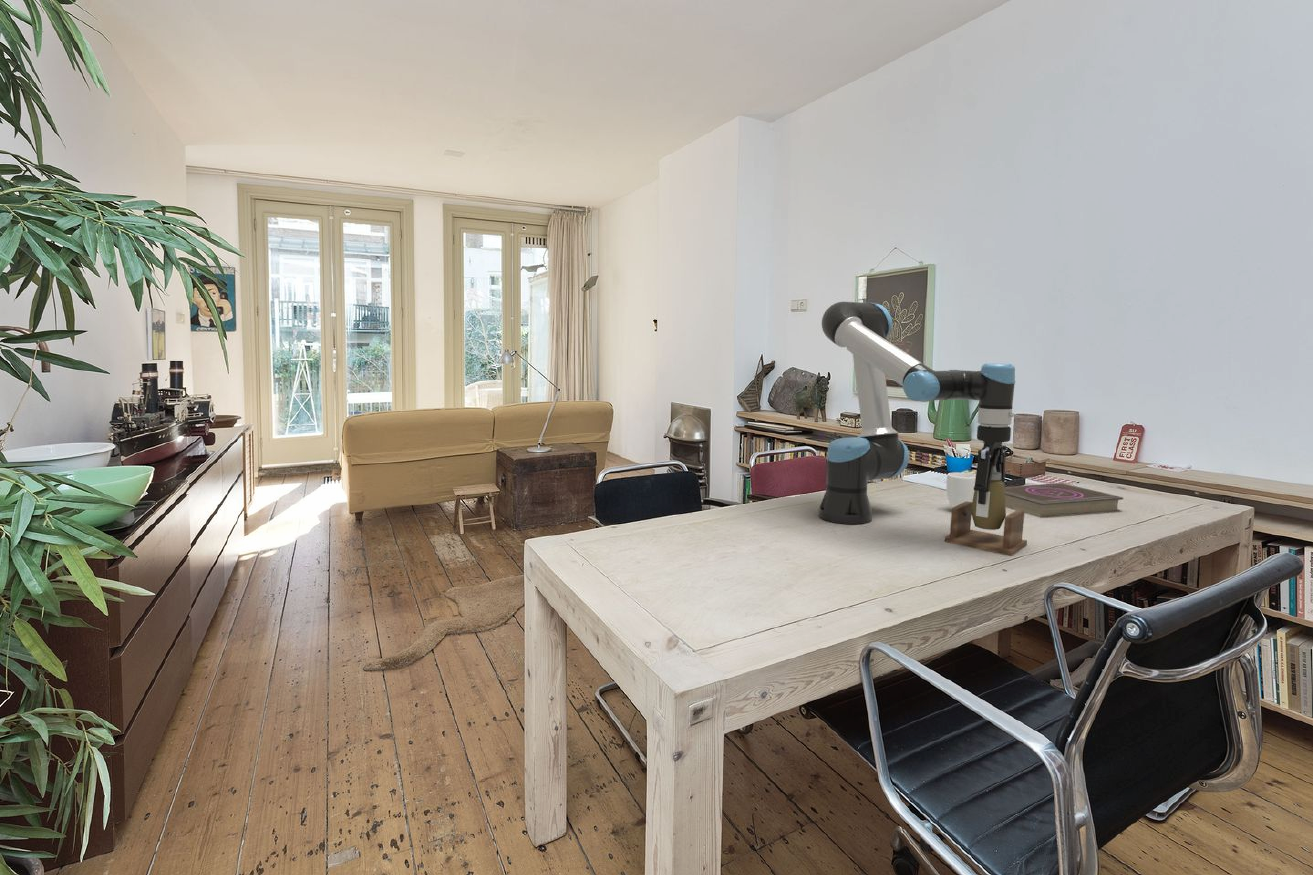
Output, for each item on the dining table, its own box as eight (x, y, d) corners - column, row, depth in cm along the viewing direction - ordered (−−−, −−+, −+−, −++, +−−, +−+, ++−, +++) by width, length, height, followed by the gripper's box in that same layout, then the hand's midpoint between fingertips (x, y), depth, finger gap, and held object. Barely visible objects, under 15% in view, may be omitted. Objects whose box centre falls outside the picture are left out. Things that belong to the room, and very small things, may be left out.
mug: (957, 515, 192) (959, 478, 190) (939, 508, 200) (941, 472, 198) (991, 513, 195) (993, 476, 193) (971, 506, 203) (974, 471, 201)
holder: (944, 541, 166) (946, 507, 165) (961, 532, 174) (963, 500, 173) (1011, 555, 155) (1014, 519, 153) (1026, 545, 163) (1029, 510, 162)
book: (1041, 519, 189) (1042, 503, 189) (985, 502, 211) (986, 487, 210) (1121, 513, 197) (1123, 497, 196) (1059, 497, 218) (1061, 482, 218)
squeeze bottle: (1009, 532, 159) (1014, 461, 157) (974, 530, 161) (979, 460, 158) (999, 524, 167) (1003, 456, 164) (965, 522, 168) (970, 455, 166)
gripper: (996, 430, 150) (989, 523, 153) (1023, 423, 165) (1016, 508, 168) (963, 427, 155) (957, 518, 159) (992, 420, 170) (986, 503, 173)
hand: (987, 513), depth 163 cm, fingers closed on squeeze bottle, 8 cm apart
